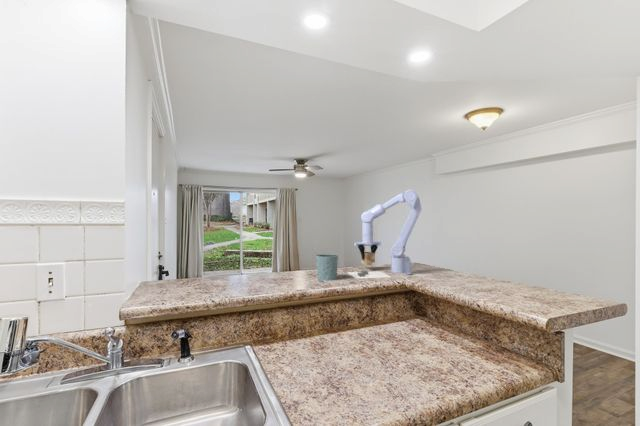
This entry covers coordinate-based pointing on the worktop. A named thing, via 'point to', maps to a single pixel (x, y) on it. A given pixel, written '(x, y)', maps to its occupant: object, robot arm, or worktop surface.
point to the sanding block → (368, 258)
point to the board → (370, 274)
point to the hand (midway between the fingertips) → (367, 259)
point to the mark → (364, 272)
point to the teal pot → (327, 267)
